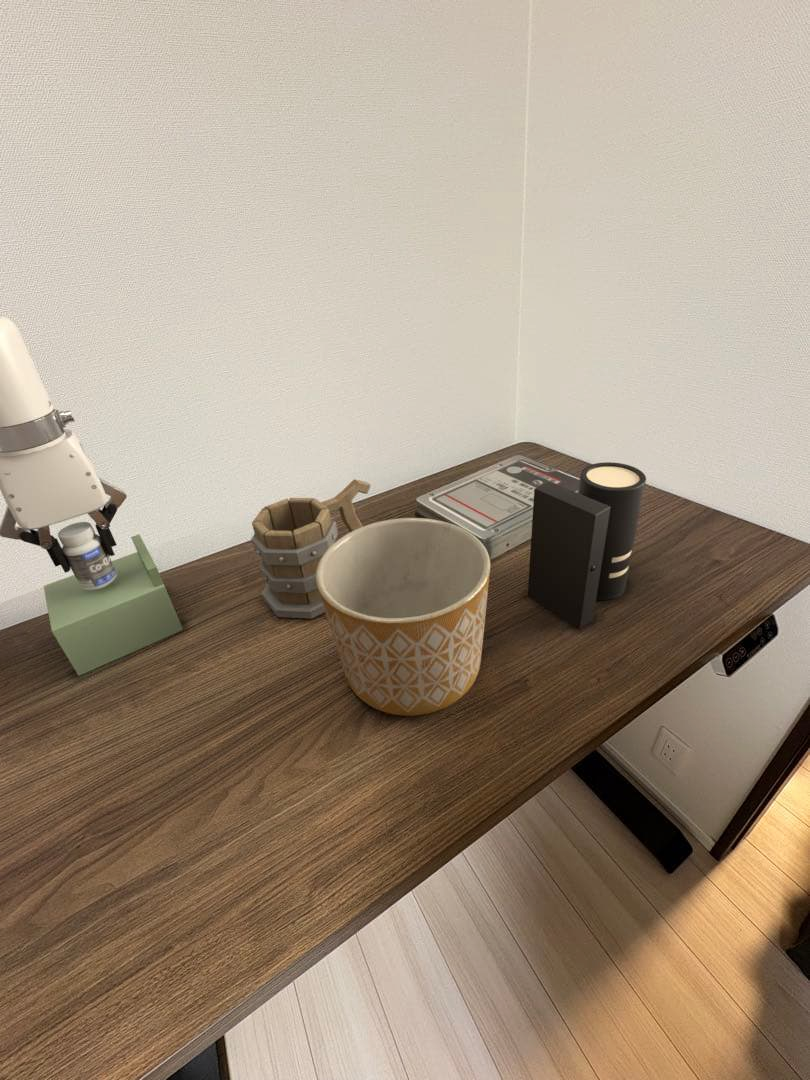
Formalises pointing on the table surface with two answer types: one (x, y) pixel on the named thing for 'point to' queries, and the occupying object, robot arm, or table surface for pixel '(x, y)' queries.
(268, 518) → the tankard
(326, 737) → the table surface
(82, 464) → the robot arm
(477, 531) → the hard drive
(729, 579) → the table surface
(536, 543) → the light fixture
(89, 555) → the pill bottle
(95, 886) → the table surface
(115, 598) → the green block with fin
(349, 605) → the planter
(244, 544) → the table surface
